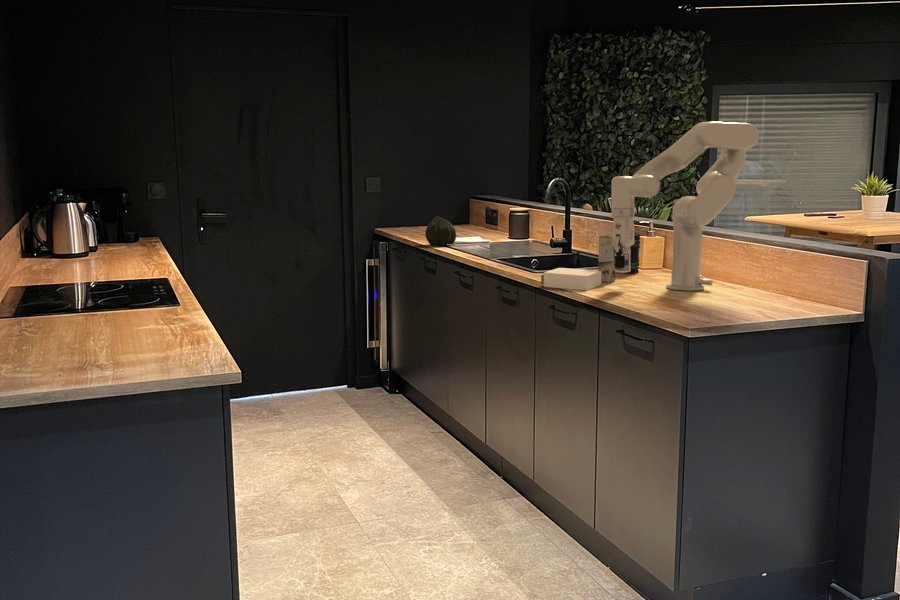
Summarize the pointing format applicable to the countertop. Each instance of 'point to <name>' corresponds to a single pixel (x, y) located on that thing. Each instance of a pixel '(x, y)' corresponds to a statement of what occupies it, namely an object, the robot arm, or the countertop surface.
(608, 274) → the coffee box
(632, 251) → the storage jar
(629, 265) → the pill bottle
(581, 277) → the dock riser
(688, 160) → the robot arm
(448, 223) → the squash
